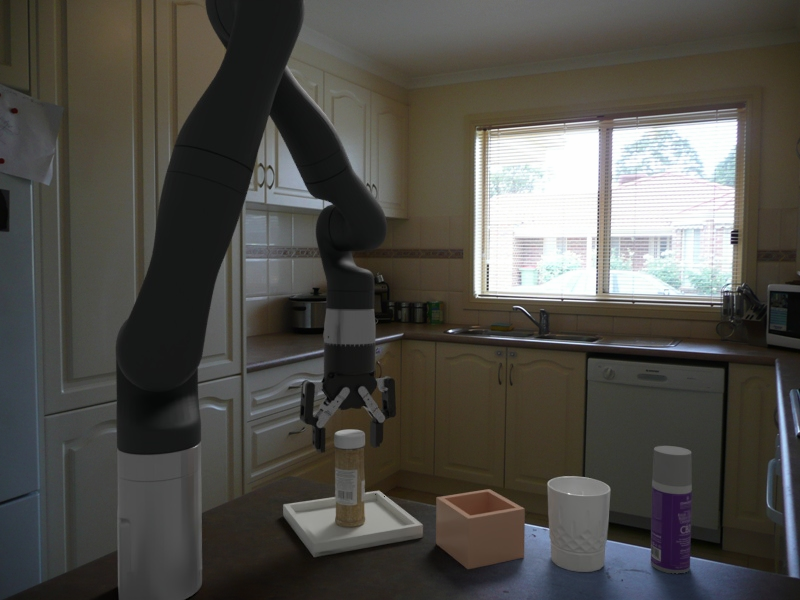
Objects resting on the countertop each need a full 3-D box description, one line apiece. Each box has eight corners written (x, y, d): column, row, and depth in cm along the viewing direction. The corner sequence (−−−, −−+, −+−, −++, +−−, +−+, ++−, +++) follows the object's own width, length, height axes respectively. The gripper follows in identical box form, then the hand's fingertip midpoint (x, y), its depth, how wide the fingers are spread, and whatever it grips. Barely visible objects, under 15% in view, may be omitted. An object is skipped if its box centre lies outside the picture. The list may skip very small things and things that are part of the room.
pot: (467, 569, 82) (468, 518, 82) (436, 543, 90) (436, 497, 89) (524, 557, 85) (524, 508, 85) (488, 533, 93) (489, 489, 93)
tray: (314, 557, 85) (314, 543, 85) (283, 516, 100) (283, 504, 100) (422, 537, 92) (422, 524, 92) (379, 501, 106) (379, 490, 106)
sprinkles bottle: (371, 520, 96) (371, 431, 96) (351, 530, 93) (351, 437, 92) (348, 514, 99) (347, 426, 98) (327, 523, 95) (327, 432, 95)
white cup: (596, 581, 79) (597, 500, 79) (536, 563, 84) (537, 487, 83) (617, 558, 85) (618, 483, 85) (560, 543, 90) (561, 472, 90)
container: (686, 577, 80) (689, 457, 79) (646, 568, 83) (649, 451, 82) (692, 563, 84) (695, 449, 83) (654, 554, 86) (657, 443, 86)
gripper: (310, 343, 88) (309, 461, 89) (404, 340, 95) (402, 450, 95) (295, 338, 95) (294, 447, 96) (383, 336, 101) (382, 439, 102)
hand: (348, 449), depth 95 cm, fingers open, 8 cm apart
